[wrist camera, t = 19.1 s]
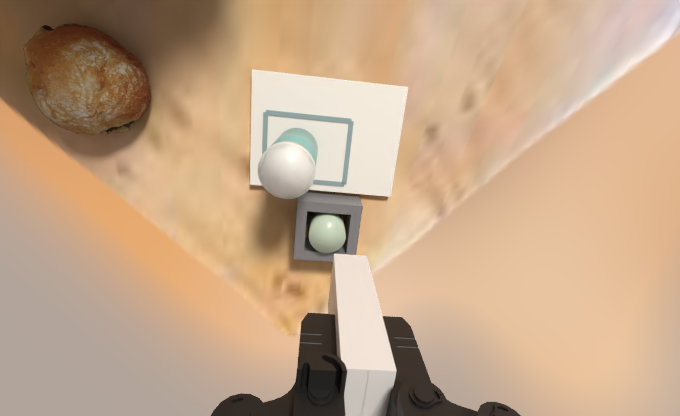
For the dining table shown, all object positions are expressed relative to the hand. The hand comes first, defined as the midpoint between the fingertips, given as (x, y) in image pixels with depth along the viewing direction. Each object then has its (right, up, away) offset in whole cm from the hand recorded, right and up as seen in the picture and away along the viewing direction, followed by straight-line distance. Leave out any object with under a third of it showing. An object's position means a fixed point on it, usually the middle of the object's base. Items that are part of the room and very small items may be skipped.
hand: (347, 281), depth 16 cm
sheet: (-2, +11, +22) cm, 25 cm away
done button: (-2, +2, +25) cm, 25 cm away
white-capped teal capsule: (-5, +10, +21) cm, 24 cm away
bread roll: (-25, +16, +19) cm, 35 cm away
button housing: (-2, +2, +25) cm, 25 cm away
